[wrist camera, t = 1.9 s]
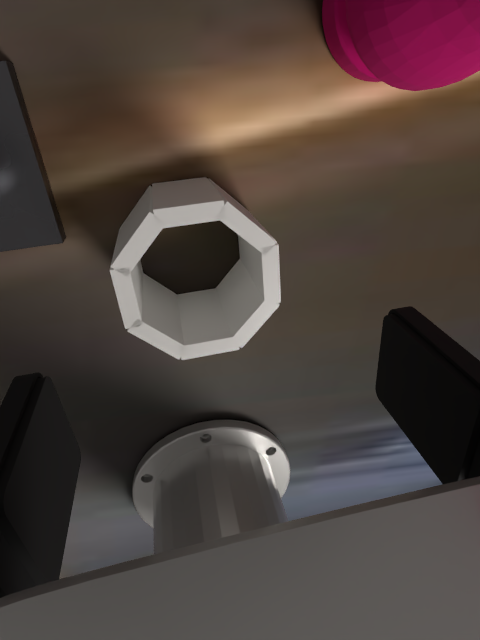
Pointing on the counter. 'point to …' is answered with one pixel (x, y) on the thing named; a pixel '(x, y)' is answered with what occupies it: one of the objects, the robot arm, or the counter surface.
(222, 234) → the counter surface
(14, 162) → the duct stub
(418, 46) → the pepper mill
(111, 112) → the counter surface
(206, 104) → the counter surface
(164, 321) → the white hollow octagonal tube
